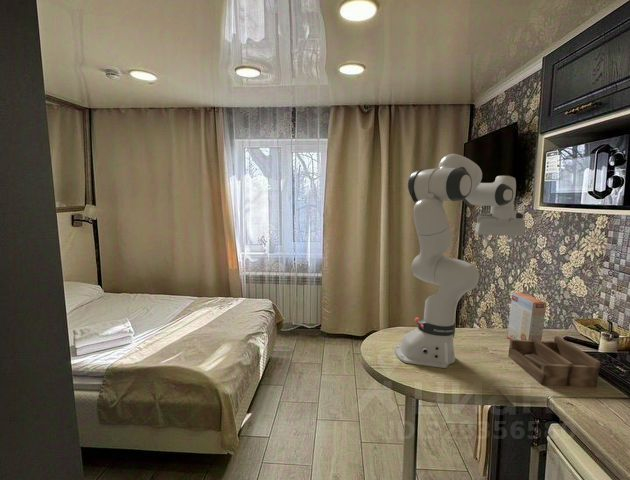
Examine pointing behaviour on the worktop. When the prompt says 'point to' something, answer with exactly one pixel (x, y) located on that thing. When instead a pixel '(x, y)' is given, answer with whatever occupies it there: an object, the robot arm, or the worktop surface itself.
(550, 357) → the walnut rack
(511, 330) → the cracker box
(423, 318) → the robot arm
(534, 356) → the dark stained offcut
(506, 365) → the worktop surface
